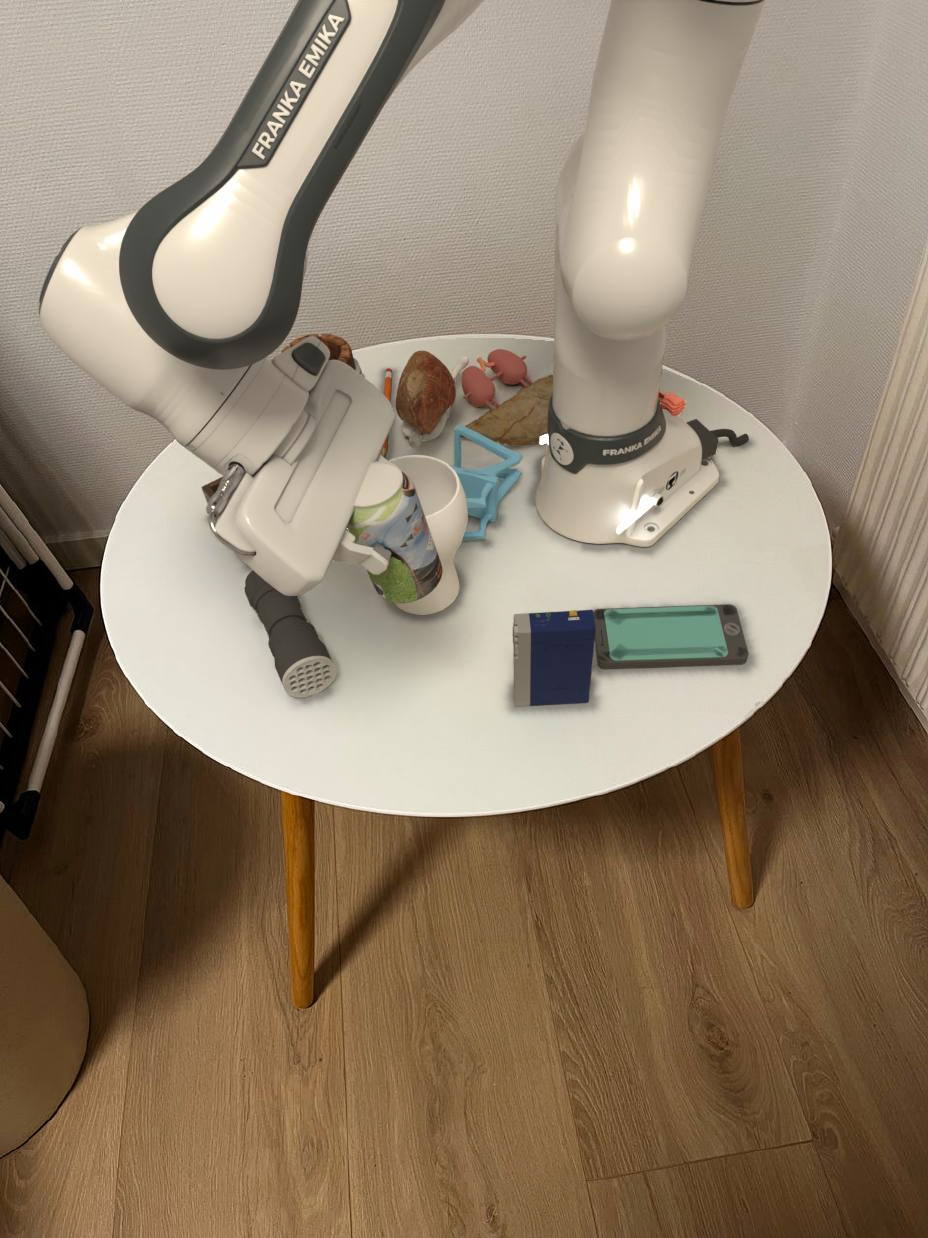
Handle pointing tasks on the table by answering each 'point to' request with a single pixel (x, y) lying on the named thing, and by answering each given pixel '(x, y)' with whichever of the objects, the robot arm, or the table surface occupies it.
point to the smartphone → (669, 636)
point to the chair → (484, 479)
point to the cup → (438, 523)
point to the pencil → (388, 393)
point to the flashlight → (291, 639)
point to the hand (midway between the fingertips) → (397, 535)
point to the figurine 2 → (503, 366)
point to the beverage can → (396, 534)
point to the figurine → (414, 434)
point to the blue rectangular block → (553, 657)
